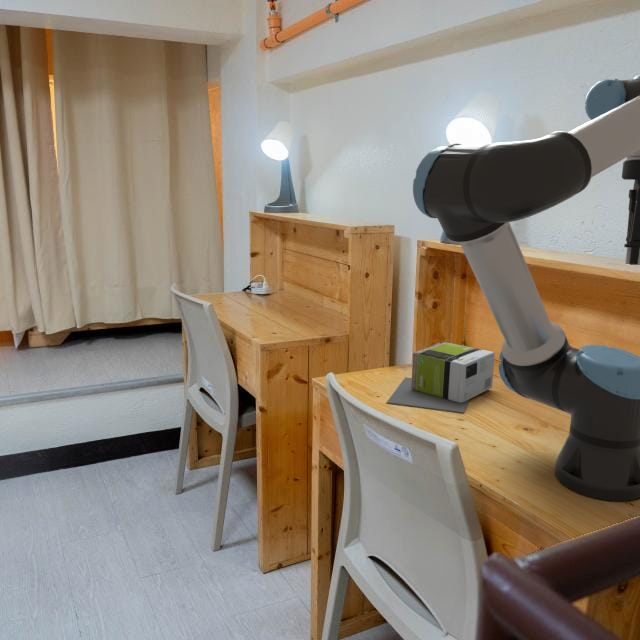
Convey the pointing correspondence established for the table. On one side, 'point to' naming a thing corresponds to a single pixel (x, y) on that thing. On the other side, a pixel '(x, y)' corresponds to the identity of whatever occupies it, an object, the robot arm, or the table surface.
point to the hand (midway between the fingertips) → (630, 279)
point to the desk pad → (423, 399)
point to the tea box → (452, 371)
